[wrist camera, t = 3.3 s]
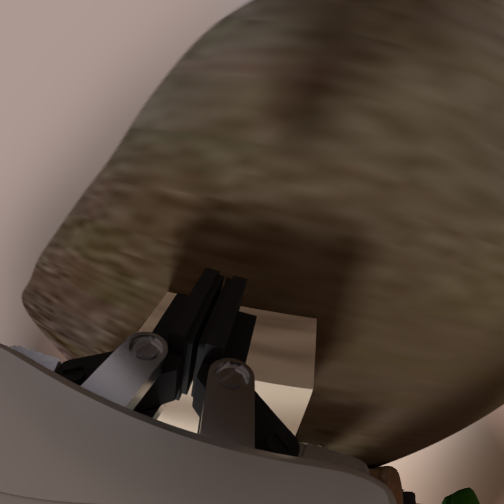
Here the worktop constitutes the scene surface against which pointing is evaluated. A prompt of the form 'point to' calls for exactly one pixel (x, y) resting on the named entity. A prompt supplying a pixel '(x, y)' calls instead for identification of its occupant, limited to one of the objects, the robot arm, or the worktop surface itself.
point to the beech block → (262, 366)
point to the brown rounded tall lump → (389, 480)
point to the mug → (408, 498)
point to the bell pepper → (462, 497)
